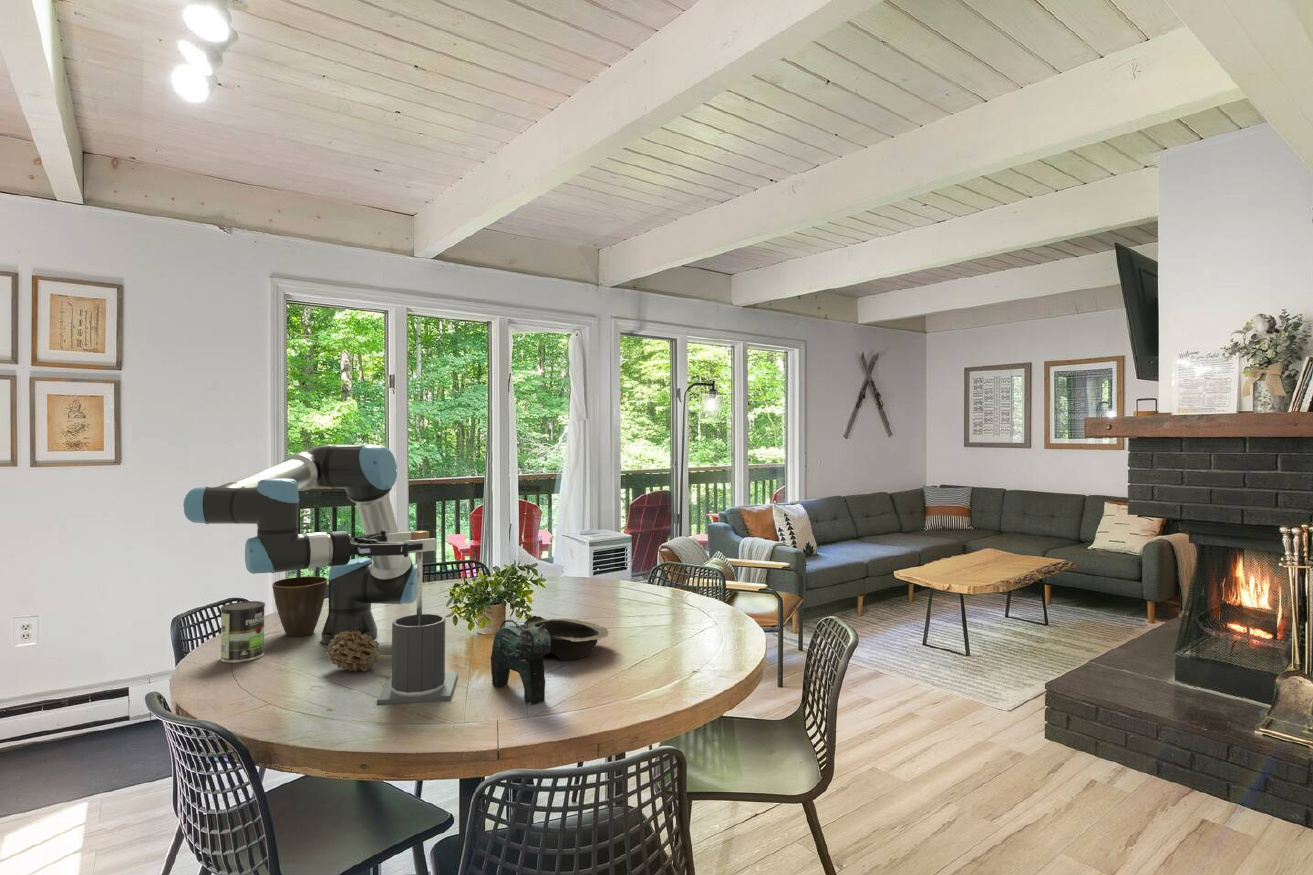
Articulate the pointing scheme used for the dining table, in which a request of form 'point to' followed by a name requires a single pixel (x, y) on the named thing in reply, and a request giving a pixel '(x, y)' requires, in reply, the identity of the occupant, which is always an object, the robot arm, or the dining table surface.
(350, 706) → the dining table surface
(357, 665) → the pine cone
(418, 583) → the plunger
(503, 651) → the dark animal figurine
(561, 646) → the stone bowl
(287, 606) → the plant pot
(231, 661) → the coffee can
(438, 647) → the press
